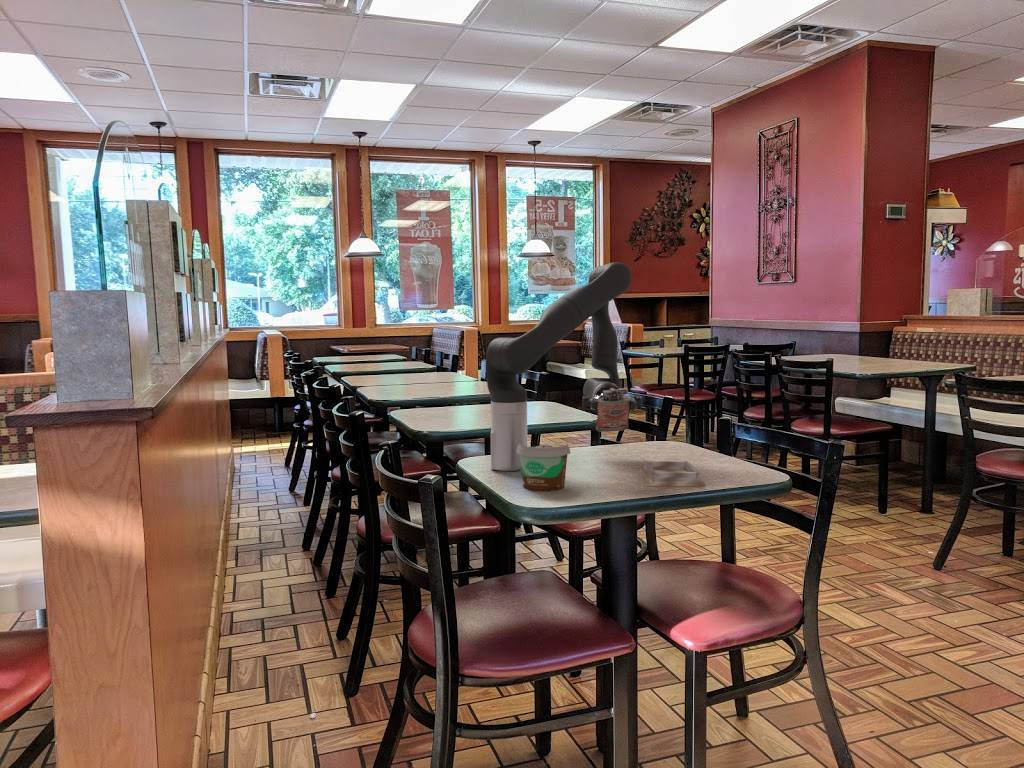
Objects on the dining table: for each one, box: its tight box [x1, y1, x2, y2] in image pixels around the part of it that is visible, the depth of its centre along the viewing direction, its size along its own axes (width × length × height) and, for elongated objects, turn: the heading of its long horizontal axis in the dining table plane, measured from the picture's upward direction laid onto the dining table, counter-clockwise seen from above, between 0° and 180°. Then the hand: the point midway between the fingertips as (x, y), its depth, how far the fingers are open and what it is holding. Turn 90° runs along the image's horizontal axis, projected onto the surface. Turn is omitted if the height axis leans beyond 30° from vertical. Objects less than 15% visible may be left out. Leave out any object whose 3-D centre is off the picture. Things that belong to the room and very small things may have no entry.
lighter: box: [595, 387, 632, 433], centre depth 177 cm, size 8×3×10 cm, turn 105°
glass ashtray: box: [638, 460, 706, 487], centre depth 178 cm, size 13×14×3 cm
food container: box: [517, 443, 571, 493], centre depth 169 cm, size 12×6×10 cm, turn 76°
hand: (614, 406), depth 176 cm, fingers closed on lighter, 8 cm apart
